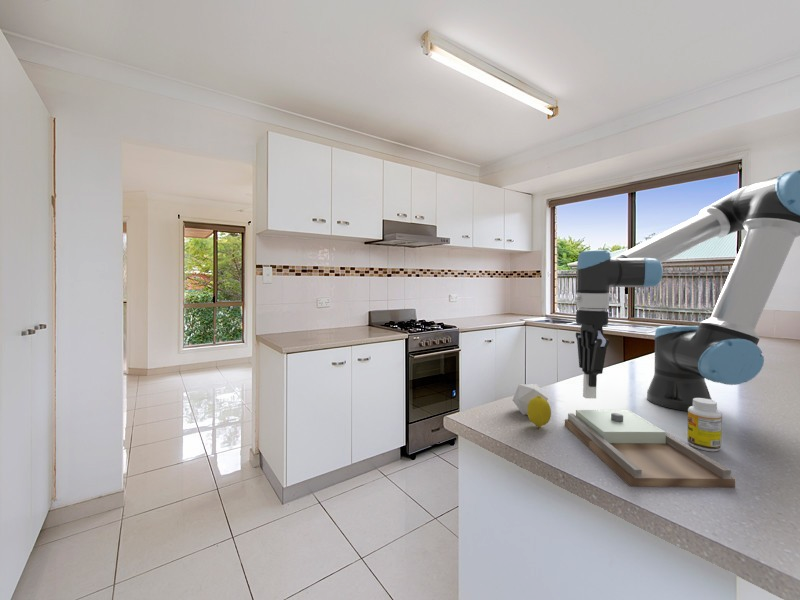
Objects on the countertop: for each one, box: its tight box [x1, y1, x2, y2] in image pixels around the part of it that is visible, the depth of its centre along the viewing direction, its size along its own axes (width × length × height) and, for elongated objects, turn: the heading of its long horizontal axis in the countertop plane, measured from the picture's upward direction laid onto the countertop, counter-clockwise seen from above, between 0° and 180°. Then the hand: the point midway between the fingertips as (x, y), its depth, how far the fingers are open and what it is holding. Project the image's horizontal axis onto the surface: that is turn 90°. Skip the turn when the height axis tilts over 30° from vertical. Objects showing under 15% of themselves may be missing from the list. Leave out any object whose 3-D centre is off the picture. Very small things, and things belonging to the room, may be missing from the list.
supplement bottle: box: [686, 398, 723, 452], centre depth 76 cm, size 6×6×10 cm
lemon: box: [527, 396, 552, 428], centre depth 88 cm, size 6×6×8 cm
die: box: [512, 383, 549, 416], centre depth 98 cm, size 8×9×10 cm
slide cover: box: [575, 409, 667, 443], centre depth 82 cm, size 13×13×4 cm
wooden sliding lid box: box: [564, 412, 736, 488], centre depth 75 cm, size 18×27×3 cm, turn 178°
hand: (589, 397), depth 94 cm, fingers closed
